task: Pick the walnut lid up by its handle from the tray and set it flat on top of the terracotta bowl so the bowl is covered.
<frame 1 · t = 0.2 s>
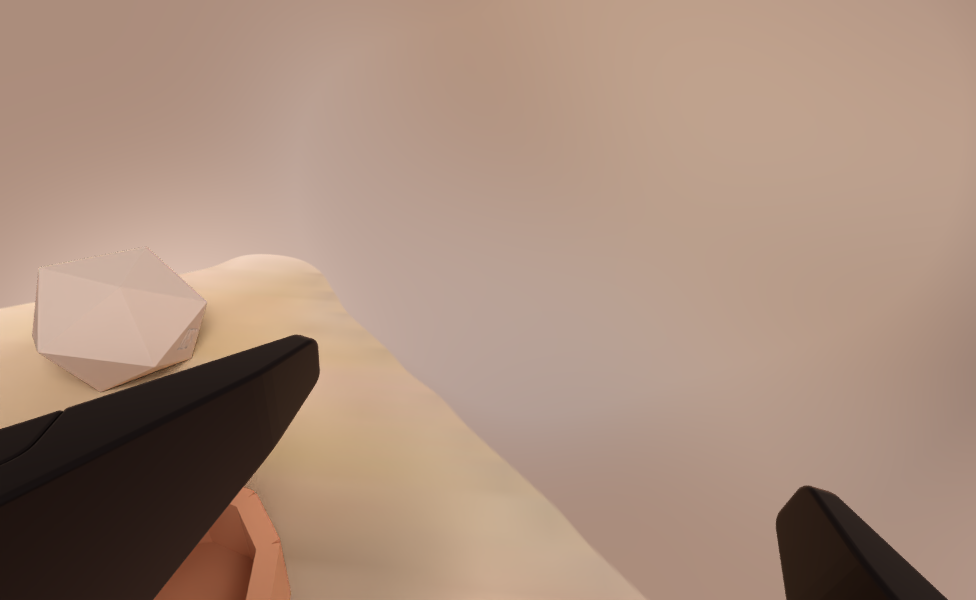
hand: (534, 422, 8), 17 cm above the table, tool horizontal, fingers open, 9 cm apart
die: (141, 365, 29), on the table
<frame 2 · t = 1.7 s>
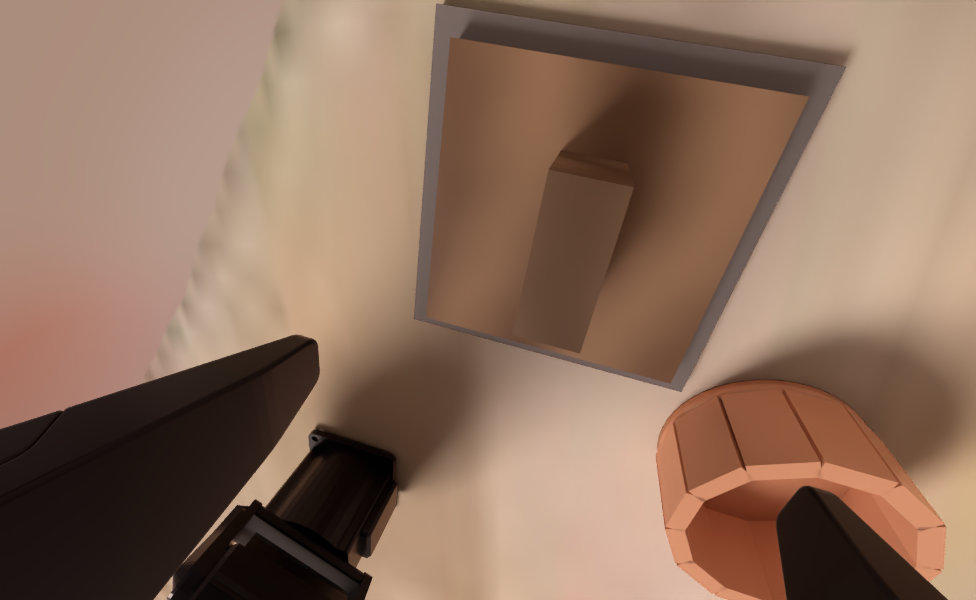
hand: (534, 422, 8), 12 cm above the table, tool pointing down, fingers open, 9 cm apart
lid: (575, 224, 18), point 1 cm above the table, touching tray
tray: (576, 220, 18), on the table
bowl: (756, 454, 22), on the table
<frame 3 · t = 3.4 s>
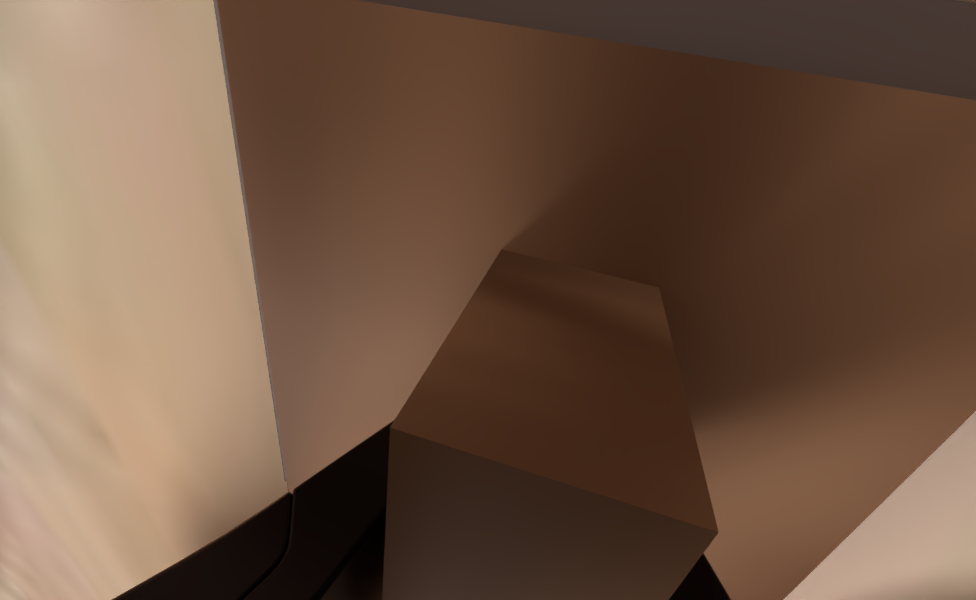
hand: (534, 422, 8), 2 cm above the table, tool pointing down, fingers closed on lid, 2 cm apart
lid: (544, 374, 9), point 1 cm above the table, touching gripper, tray
tray: (548, 358, 9), on the table
when the fingers open (8 cm above the table, at t = 7.2 s): lid drops 1 cm, resting on bowl.
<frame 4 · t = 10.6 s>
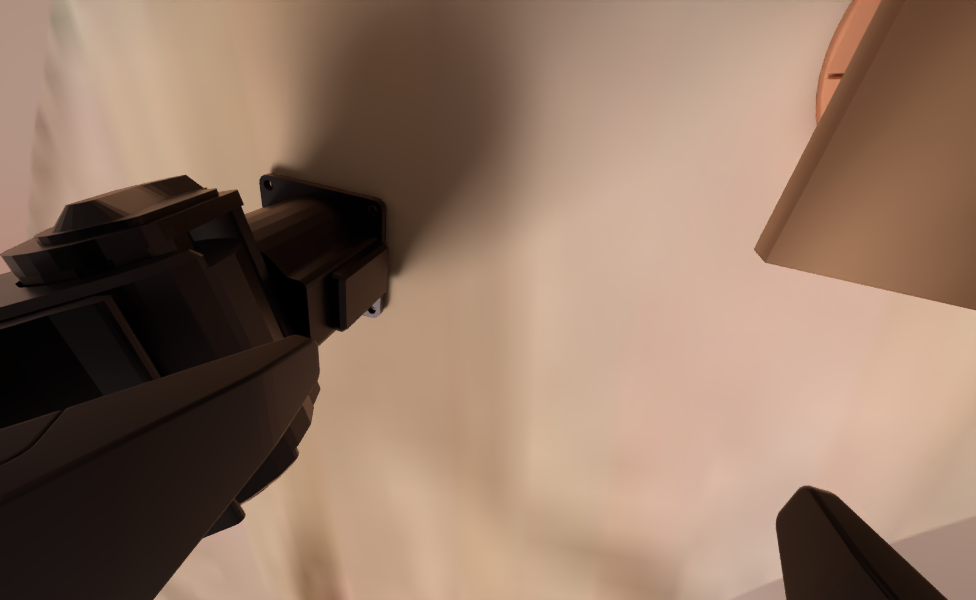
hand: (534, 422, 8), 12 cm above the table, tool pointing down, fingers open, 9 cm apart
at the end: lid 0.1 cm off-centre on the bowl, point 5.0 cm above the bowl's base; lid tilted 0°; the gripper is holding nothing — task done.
